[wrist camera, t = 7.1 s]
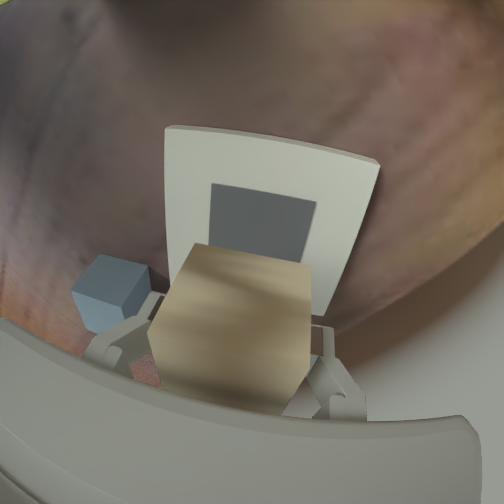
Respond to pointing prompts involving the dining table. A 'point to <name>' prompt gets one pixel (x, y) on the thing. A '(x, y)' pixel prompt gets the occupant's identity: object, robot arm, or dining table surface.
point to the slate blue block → (110, 292)
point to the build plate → (265, 200)
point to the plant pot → (4, 2)
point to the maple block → (235, 329)
